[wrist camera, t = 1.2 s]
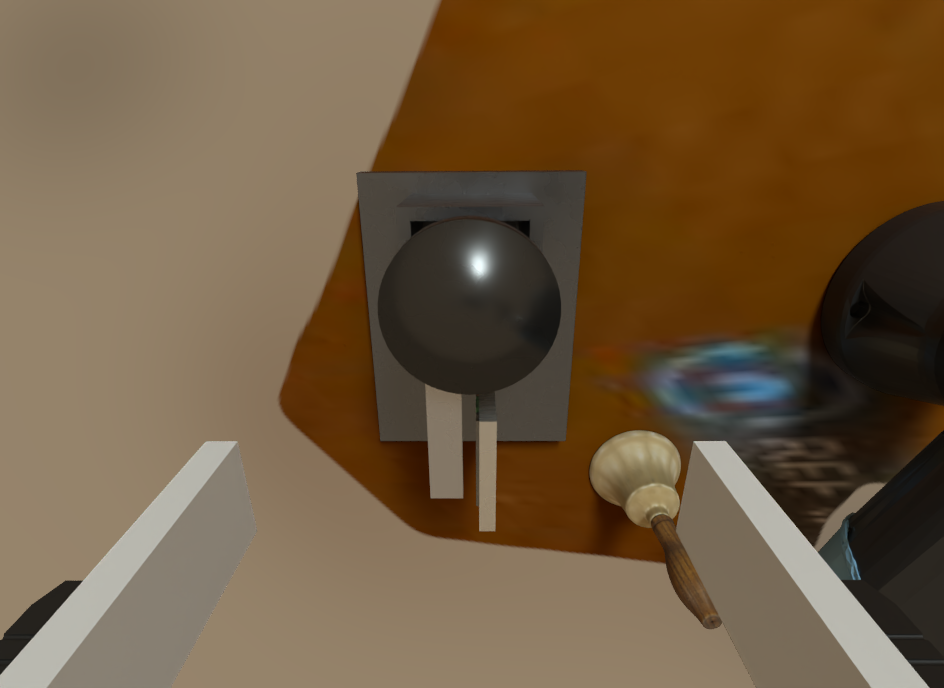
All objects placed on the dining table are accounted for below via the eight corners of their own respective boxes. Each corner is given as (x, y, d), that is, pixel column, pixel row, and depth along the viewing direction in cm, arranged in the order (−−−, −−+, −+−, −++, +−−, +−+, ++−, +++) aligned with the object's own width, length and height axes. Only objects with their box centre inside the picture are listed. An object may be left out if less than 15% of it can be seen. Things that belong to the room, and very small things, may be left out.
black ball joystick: (542, 197, 31) (567, 219, 23) (531, 431, 37) (547, 515, 29) (398, 198, 31) (369, 220, 23) (412, 431, 38) (394, 515, 29)
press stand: (582, 170, 36) (638, 187, 23) (562, 431, 44) (596, 546, 32) (360, 171, 36) (300, 189, 24) (383, 431, 44) (347, 546, 32)
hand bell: (617, 416, 44) (689, 558, 29) (697, 449, 45) (805, 601, 30) (572, 486, 47) (617, 647, 32) (649, 515, 48) (725, 683, 33)
